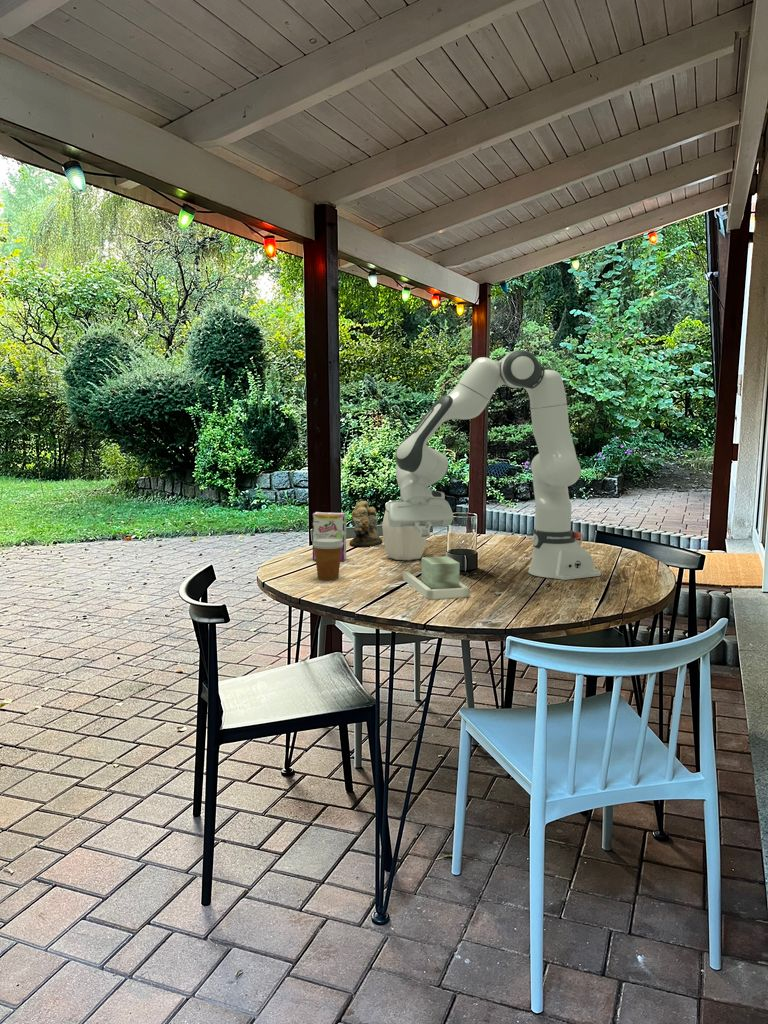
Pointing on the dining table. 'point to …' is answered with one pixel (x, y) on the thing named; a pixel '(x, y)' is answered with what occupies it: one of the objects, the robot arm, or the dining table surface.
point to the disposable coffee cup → (327, 557)
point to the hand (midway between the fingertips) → (425, 535)
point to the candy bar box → (330, 528)
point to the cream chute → (436, 593)
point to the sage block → (440, 572)
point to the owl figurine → (365, 526)
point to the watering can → (402, 541)
